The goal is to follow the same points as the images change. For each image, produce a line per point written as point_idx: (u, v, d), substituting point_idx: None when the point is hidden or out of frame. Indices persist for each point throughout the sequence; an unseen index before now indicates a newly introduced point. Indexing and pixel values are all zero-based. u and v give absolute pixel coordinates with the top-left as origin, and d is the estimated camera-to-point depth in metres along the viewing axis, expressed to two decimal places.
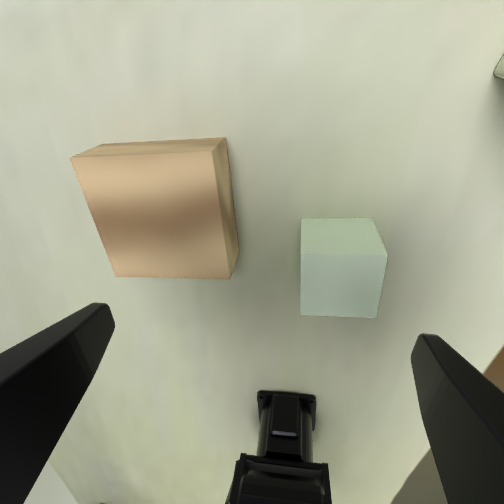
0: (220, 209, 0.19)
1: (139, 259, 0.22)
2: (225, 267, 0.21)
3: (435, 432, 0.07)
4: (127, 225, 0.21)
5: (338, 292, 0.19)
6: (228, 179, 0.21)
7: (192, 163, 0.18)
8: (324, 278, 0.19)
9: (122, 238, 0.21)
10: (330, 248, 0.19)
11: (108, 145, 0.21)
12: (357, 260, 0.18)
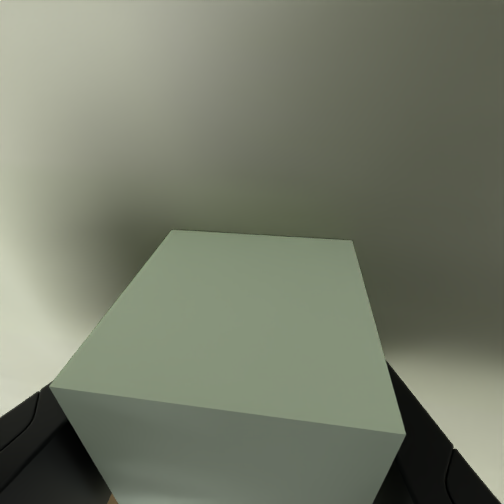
0: None
1: None
2: None
3: None
4: None
5: (247, 493, 0.05)
6: None
7: None
8: None
9: None
10: None
11: None
12: (106, 447, 0.05)
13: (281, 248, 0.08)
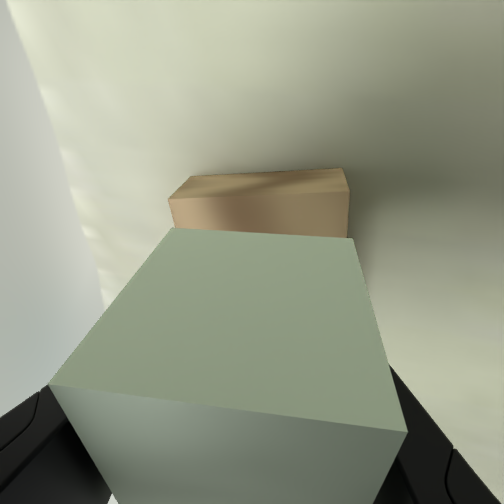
0: (236, 195, 0.15)
1: None
2: (327, 196, 0.14)
3: None
4: None
5: (248, 493, 0.05)
6: (230, 177, 0.18)
7: (184, 220, 0.16)
8: (193, 503, 0.06)
9: None
10: None
11: None
12: (105, 444, 0.05)
13: (281, 246, 0.08)
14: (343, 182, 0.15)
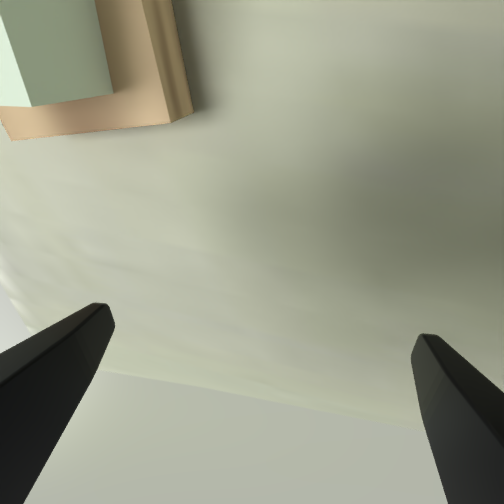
0: None
1: (121, 67, 0.13)
2: None
3: (435, 432, 0.07)
4: None
5: None
6: None
7: None
8: None
9: None
10: None
11: None
12: None
13: None
14: None
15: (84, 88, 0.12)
